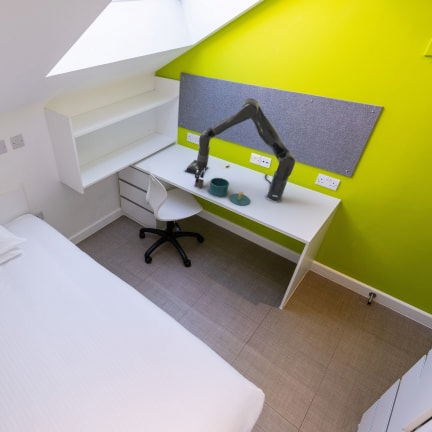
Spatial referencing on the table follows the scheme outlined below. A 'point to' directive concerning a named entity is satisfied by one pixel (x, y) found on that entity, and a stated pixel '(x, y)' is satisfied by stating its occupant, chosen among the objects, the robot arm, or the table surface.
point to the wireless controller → (192, 167)
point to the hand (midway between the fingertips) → (199, 179)
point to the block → (199, 183)
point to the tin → (218, 187)
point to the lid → (239, 199)
